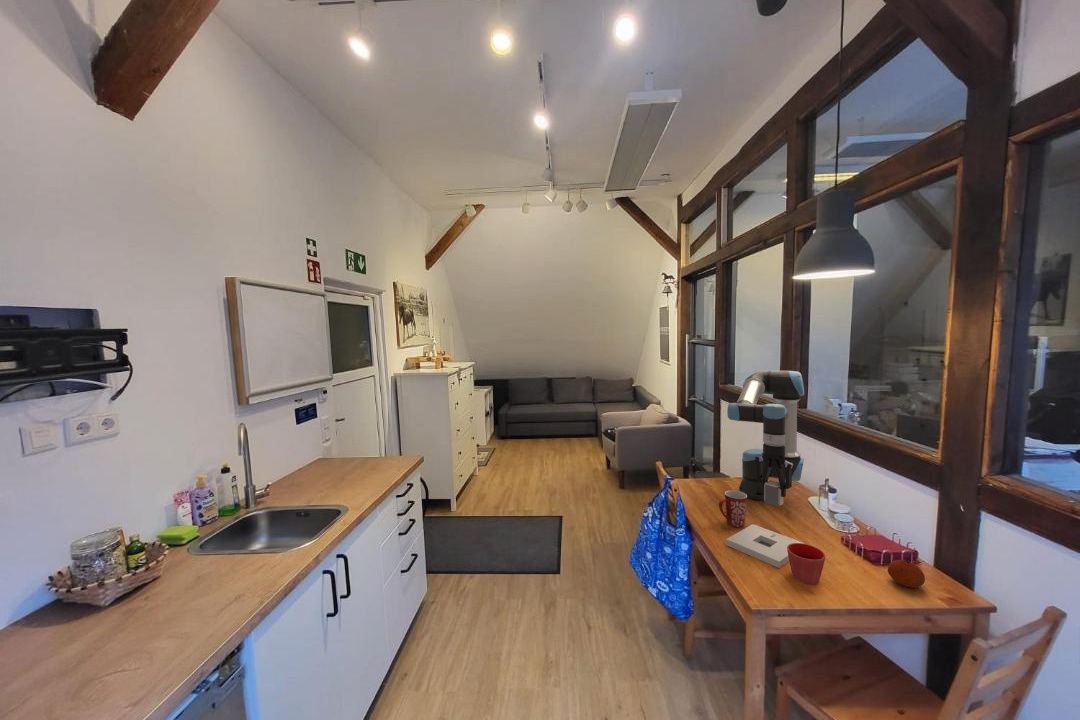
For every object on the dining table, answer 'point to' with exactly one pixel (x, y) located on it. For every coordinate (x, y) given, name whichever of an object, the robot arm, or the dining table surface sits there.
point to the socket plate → (762, 544)
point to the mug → (734, 508)
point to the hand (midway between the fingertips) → (773, 502)
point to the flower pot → (806, 562)
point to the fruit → (906, 573)
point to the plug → (771, 492)
